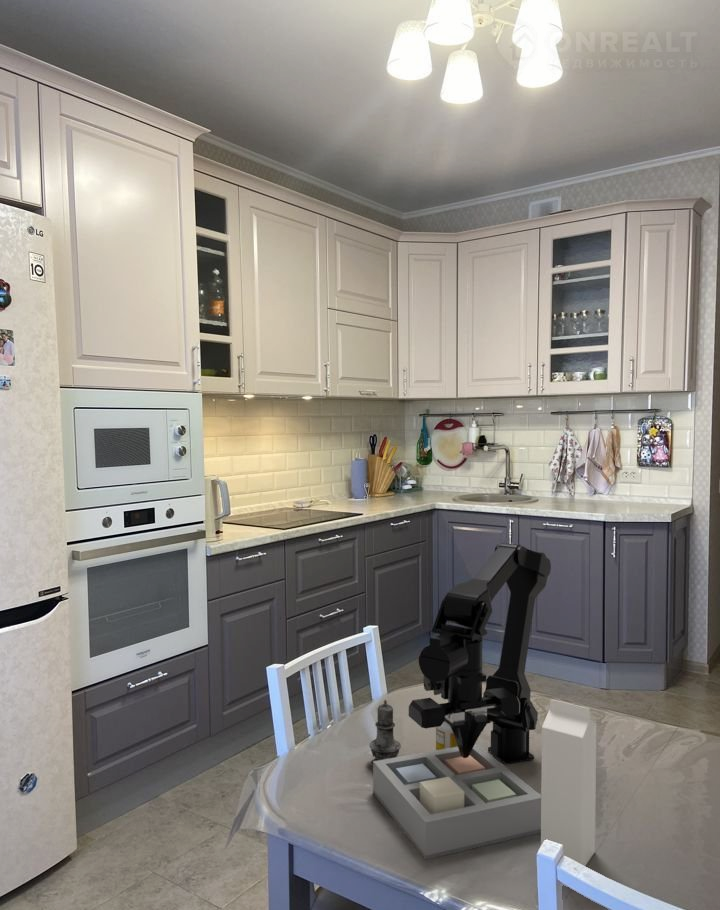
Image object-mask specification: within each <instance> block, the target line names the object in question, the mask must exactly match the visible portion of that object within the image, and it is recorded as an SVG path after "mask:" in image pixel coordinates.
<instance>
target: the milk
mask: <svg viewBox="0 0 720 910" xmlns="http://www.w3.org/2000/svg"><path fill="white" fill-rule="evenodd" d="M548 708H549V710H548V711H547V714H546V717H545V719H544V721H543V723H542V725H541V781H540V782H541V785H540V788H541V790H540V791H541V792H540V795H541V833H540V844H541V843H542V842H543V841H544V840H546V839H548V840H551V841H554V842H557V843H561V844H563V845H564V854H565V855H566V856H568V857H570V858H572V859H574V860H576V861H578V862H579V863H581V864H583V865H585V866H587V864H588V863H589V861H590V860H591V858H592V857H593V855H594V854H595V852H596V800H597V799H596V798H597V797H596V795H597V794H596V793H597V792H596V791H597V790H596V785H597V784H596V782H597V779H596V777H597V723H595V722H594V721H593V720H592V719H591V710H590V708H589V707H587V706H581V705H577V704H572V703H569V702H565V701H561V700H555V699H550V700H549V707H548Z"/></svg>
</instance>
